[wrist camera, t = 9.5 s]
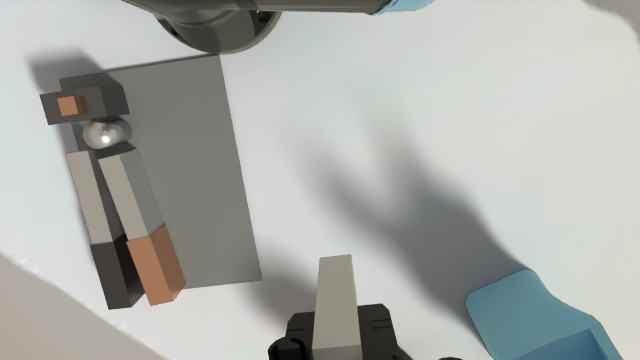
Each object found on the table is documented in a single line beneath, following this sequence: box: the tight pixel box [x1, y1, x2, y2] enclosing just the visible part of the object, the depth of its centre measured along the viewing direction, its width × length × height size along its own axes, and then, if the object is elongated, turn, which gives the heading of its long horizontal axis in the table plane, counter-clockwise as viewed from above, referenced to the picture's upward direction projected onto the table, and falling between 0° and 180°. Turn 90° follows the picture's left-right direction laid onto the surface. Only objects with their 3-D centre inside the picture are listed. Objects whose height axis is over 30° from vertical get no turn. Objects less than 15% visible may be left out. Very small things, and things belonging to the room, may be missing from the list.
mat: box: [59, 55, 262, 289], centre depth 47 cm, size 28×19×1 cm
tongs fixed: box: [40, 86, 145, 310], centre depth 44 cm, size 26×7×6 cm, turn 8°
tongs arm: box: [83, 119, 186, 306], centre depth 45 cm, size 22×3×5 cm, turn 14°
